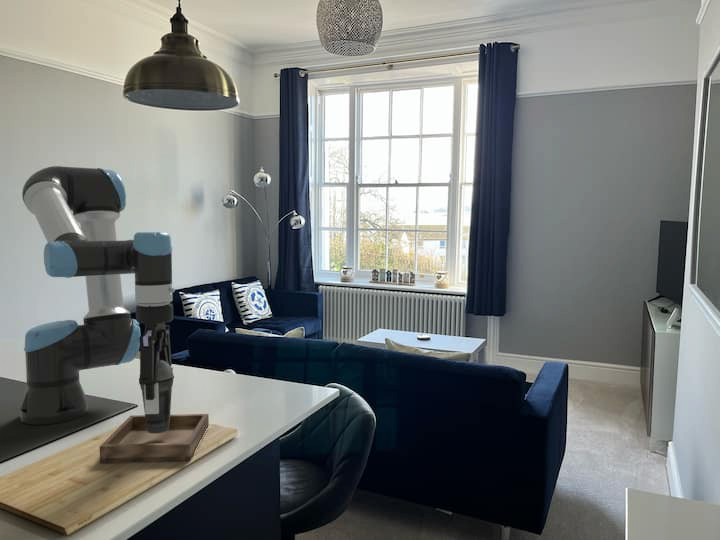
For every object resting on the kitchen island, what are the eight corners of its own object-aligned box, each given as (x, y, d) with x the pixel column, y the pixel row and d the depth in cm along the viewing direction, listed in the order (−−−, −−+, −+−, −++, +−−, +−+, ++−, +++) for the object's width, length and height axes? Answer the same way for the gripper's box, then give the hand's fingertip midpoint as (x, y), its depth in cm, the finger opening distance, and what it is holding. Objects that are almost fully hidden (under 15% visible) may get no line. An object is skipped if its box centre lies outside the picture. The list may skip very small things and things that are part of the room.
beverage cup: (164, 421, 125) (161, 335, 123) (182, 428, 120) (179, 339, 119) (133, 430, 119) (130, 340, 118) (151, 438, 115) (148, 345, 113)
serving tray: (100, 463, 110) (99, 446, 110) (131, 430, 128) (130, 415, 128) (190, 460, 112) (190, 444, 111) (208, 428, 130) (208, 413, 129)
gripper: (158, 310, 108) (161, 423, 110) (184, 297, 128) (186, 392, 130) (119, 311, 107) (123, 424, 109) (151, 297, 127) (154, 393, 129)
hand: (157, 407), depth 119 cm, fingers closed on beverage cup, 7 cm apart
